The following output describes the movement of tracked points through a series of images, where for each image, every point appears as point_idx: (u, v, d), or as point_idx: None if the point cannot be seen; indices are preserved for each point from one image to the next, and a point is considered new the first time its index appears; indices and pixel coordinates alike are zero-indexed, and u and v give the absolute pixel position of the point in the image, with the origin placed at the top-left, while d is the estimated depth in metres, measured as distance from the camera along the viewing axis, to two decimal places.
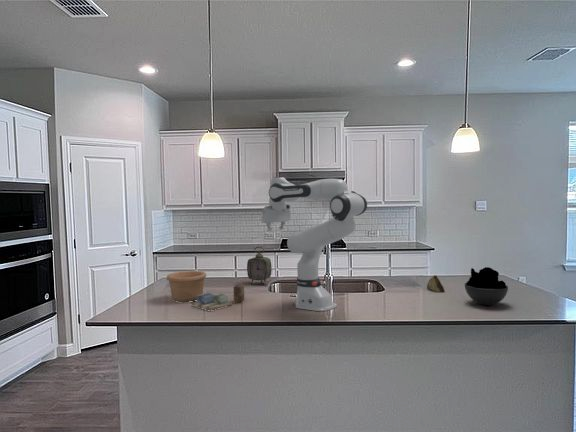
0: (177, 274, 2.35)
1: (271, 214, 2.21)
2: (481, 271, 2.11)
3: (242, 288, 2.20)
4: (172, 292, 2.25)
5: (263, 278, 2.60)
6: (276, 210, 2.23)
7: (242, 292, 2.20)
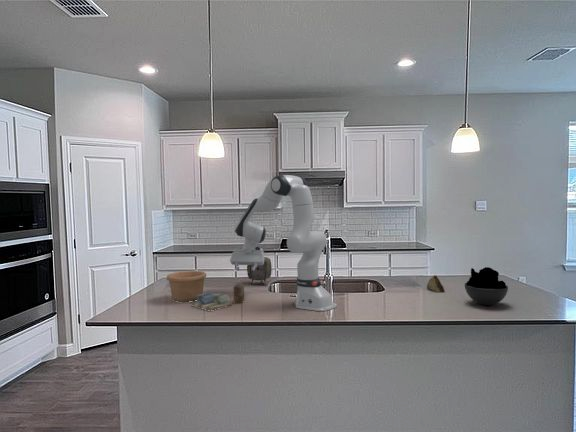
0: (177, 274, 2.35)
1: (238, 255, 2.39)
2: (481, 271, 2.11)
3: (242, 288, 2.20)
4: (172, 292, 2.25)
5: (263, 278, 2.60)
6: (244, 251, 2.39)
7: (242, 292, 2.20)
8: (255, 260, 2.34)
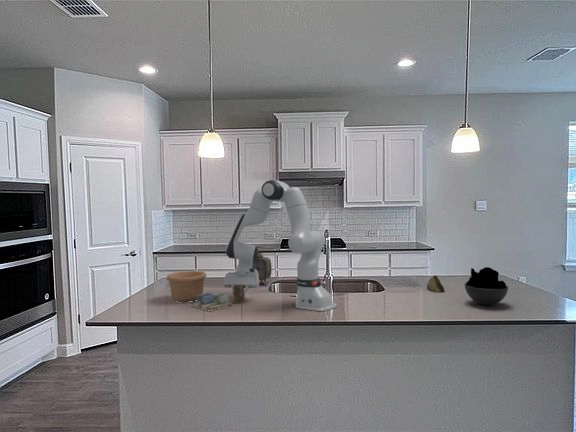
0: (177, 274, 2.35)
1: (231, 277, 2.27)
2: (481, 271, 2.11)
3: (242, 288, 2.20)
4: (172, 292, 2.25)
5: (263, 278, 2.60)
6: (238, 273, 2.27)
7: None
8: (249, 283, 2.22)
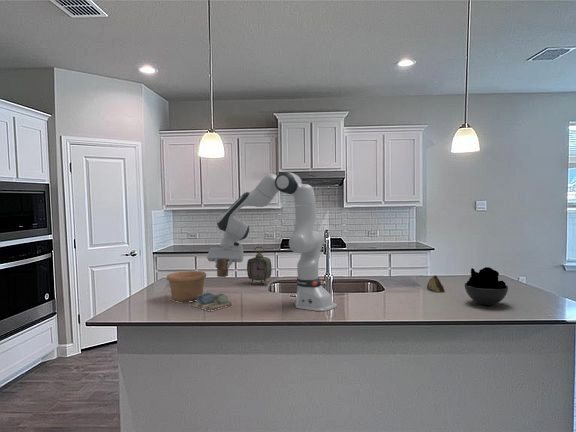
0: (177, 274, 2.35)
1: (215, 251, 2.23)
2: (481, 271, 2.11)
3: (226, 261, 2.17)
4: (172, 292, 2.25)
5: (263, 278, 2.60)
6: (222, 247, 2.23)
7: None
8: (233, 257, 2.18)
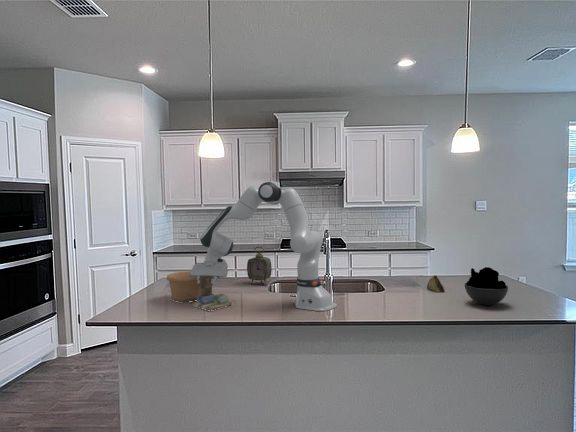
0: (177, 274, 2.35)
1: (199, 268, 2.20)
2: (481, 271, 2.11)
3: (209, 280, 2.13)
4: (172, 292, 2.25)
5: (263, 278, 2.60)
6: (205, 264, 2.20)
7: (209, 284, 2.13)
8: (217, 273, 2.15)
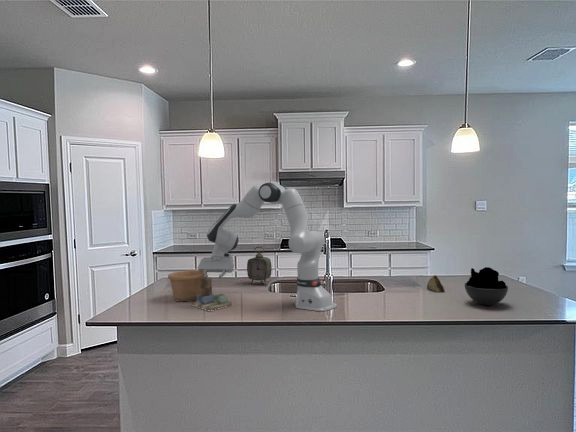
0: (176, 274, 2.35)
1: (206, 262, 2.30)
2: (481, 271, 2.11)
3: (209, 280, 2.13)
4: (175, 291, 2.25)
5: (263, 278, 2.60)
6: (212, 258, 2.30)
7: (209, 284, 2.13)
8: (223, 267, 2.25)
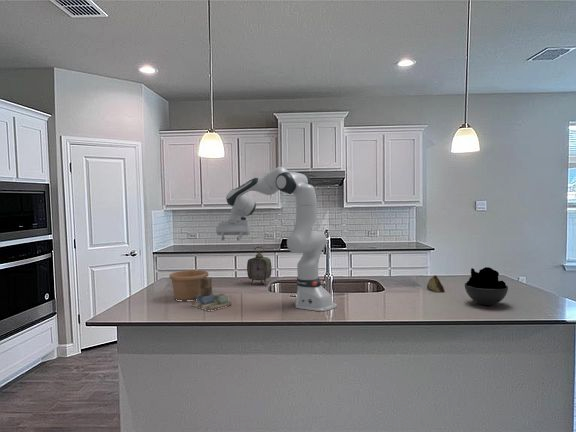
0: (176, 274, 2.35)
1: (223, 225, 2.38)
2: (481, 271, 2.11)
3: (209, 280, 2.13)
4: (177, 292, 2.25)
5: (263, 278, 2.60)
6: (230, 222, 2.39)
7: (209, 284, 2.13)
8: (240, 230, 2.33)
